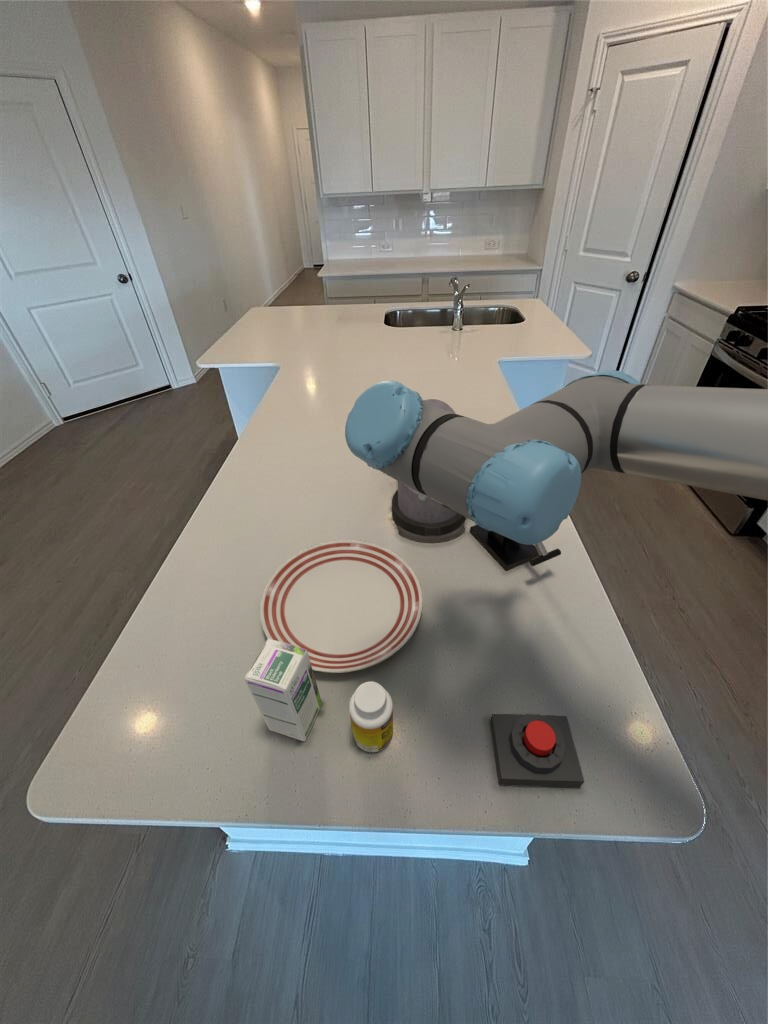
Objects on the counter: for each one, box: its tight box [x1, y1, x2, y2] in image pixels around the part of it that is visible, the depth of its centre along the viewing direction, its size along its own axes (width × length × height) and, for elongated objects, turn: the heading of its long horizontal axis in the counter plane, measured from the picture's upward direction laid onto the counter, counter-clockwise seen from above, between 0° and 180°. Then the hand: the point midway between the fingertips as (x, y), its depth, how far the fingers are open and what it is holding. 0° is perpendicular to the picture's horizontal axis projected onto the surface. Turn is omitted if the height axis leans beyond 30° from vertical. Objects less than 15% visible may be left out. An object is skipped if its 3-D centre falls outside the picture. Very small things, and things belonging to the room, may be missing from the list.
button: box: [523, 721, 556, 756], centre depth 55 cm, size 4×4×2 cm
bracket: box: [469, 524, 540, 572], centre depth 83 cm, size 12×8×14 cm, turn 26°
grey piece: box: [391, 398, 467, 544], centre depth 91 cm, size 30×16×24 cm, turn 0°
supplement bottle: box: [348, 681, 394, 753], centre depth 57 cm, size 6×6×10 cm
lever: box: [528, 541, 562, 567], centre depth 78 cm, size 14×6×2 cm
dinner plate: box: [259, 539, 424, 674], centre depth 75 cm, size 28×27×3 cm
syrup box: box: [243, 638, 323, 743], centre depth 58 cm, size 6×6×14 cm
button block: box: [489, 713, 585, 789], centre depth 57 cm, size 10×8×4 cm
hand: (533, 527), depth 66 cm, fingers closed
